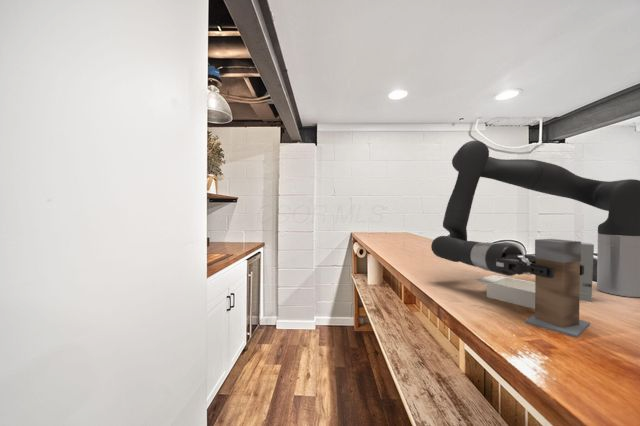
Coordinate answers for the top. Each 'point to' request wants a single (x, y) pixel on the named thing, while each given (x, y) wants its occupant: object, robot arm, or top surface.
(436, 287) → the top surface
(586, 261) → the skincare box
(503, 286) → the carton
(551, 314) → the capped block
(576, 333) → the mat
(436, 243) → the robot arm
